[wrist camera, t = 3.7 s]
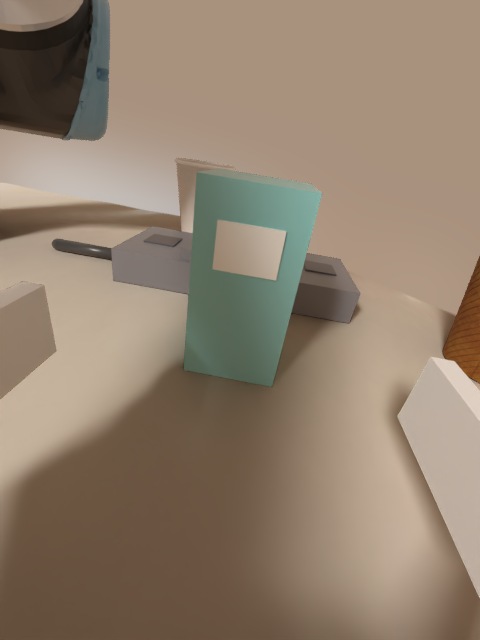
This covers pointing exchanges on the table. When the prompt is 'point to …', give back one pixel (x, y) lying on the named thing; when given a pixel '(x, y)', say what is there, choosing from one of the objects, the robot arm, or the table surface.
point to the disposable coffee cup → (467, 331)
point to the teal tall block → (245, 271)
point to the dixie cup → (191, 187)
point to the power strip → (175, 259)
